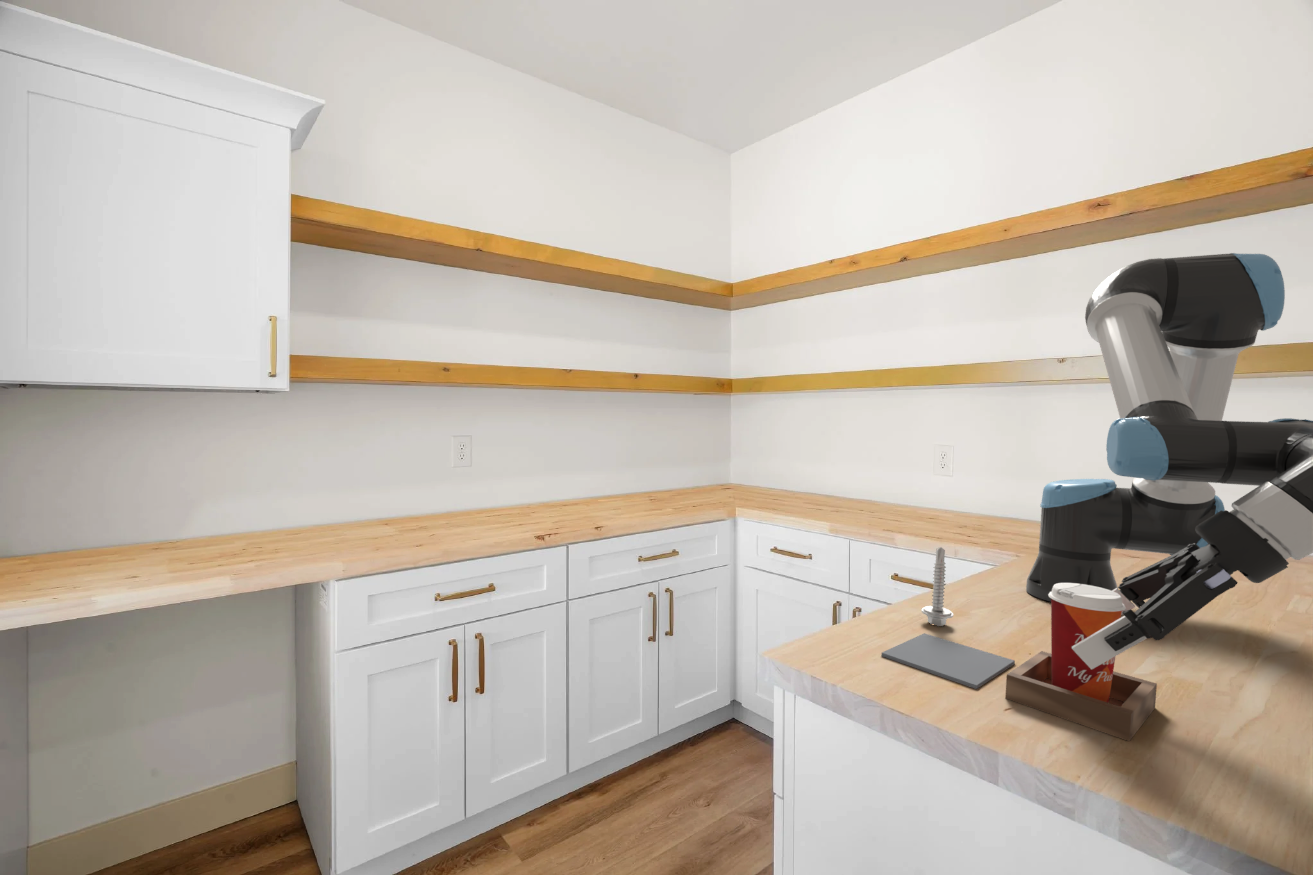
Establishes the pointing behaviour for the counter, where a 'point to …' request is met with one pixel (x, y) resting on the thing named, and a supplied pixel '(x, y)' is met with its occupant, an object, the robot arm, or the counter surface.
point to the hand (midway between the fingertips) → (1080, 640)
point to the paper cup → (1081, 636)
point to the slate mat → (949, 660)
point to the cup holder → (1083, 698)
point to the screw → (938, 593)
